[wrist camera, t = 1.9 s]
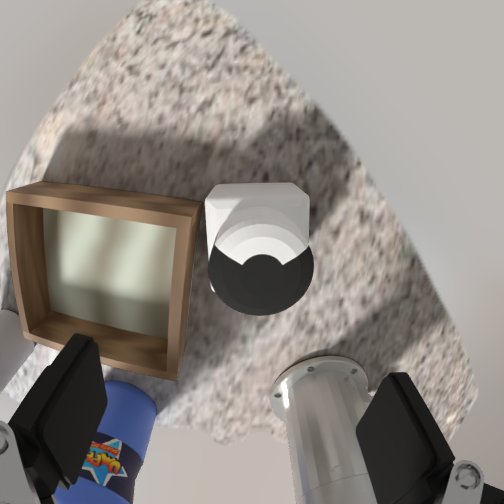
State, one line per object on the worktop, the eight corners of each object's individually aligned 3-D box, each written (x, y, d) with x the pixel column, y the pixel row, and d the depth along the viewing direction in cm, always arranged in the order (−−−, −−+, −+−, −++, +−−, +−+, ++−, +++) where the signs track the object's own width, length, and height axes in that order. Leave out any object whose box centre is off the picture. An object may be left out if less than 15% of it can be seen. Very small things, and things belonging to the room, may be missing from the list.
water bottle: (154, 430, 38) (122, 576, 15) (96, 410, 37) (44, 545, 14) (161, 393, 35) (118, 570, 12) (95, 370, 34) (21, 528, 11)
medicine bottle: (293, 256, 29) (321, 326, 18) (218, 259, 29) (202, 331, 18) (294, 181, 27) (329, 210, 16) (214, 183, 27) (191, 213, 16)
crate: (202, 201, 27) (191, 217, 22) (186, 345, 33) (176, 381, 27) (41, 181, 26) (6, 191, 20) (49, 311, 31) (24, 338, 25)
